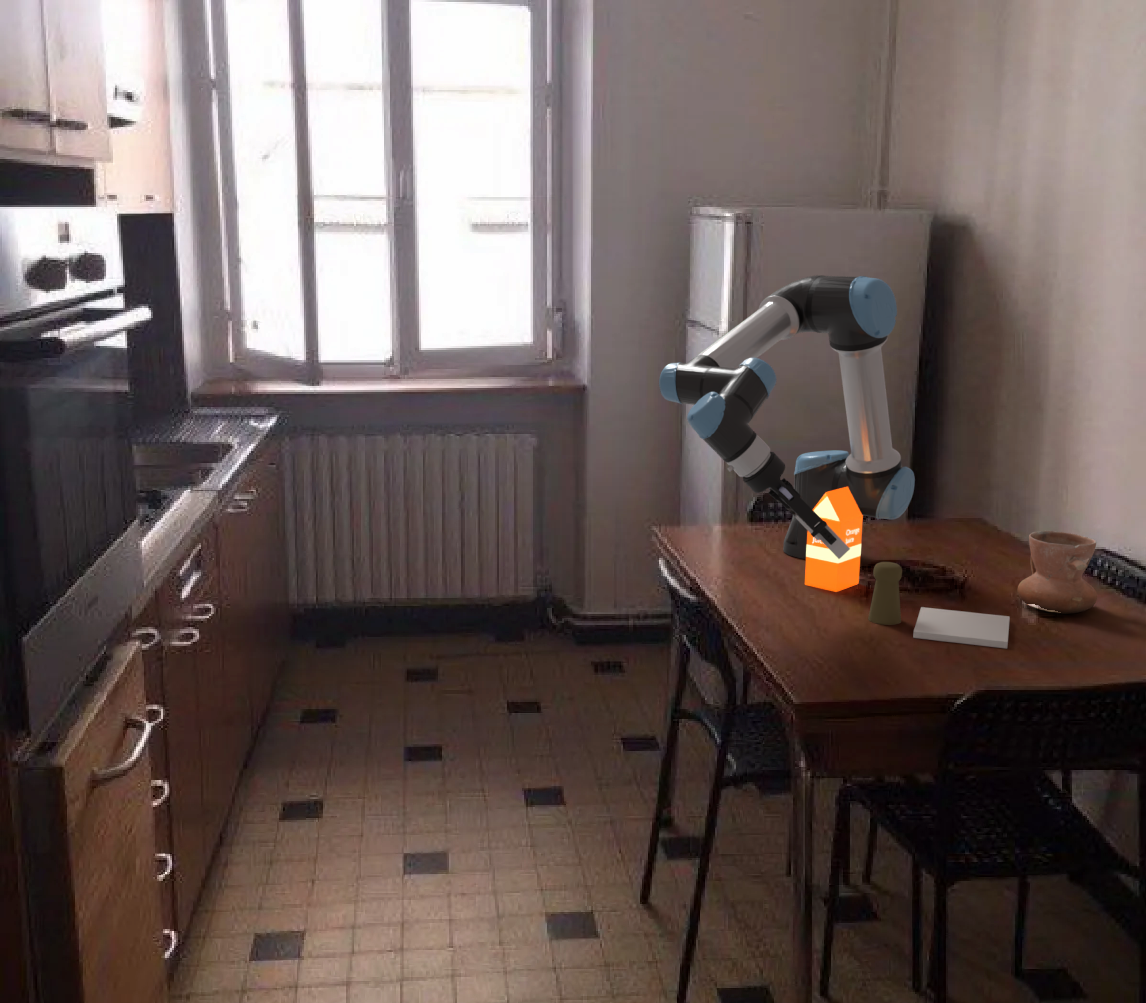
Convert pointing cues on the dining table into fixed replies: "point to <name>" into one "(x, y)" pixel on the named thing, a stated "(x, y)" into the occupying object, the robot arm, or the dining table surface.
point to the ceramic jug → (1059, 572)
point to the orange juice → (848, 527)
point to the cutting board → (962, 627)
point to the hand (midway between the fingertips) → (833, 544)
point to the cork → (886, 594)
